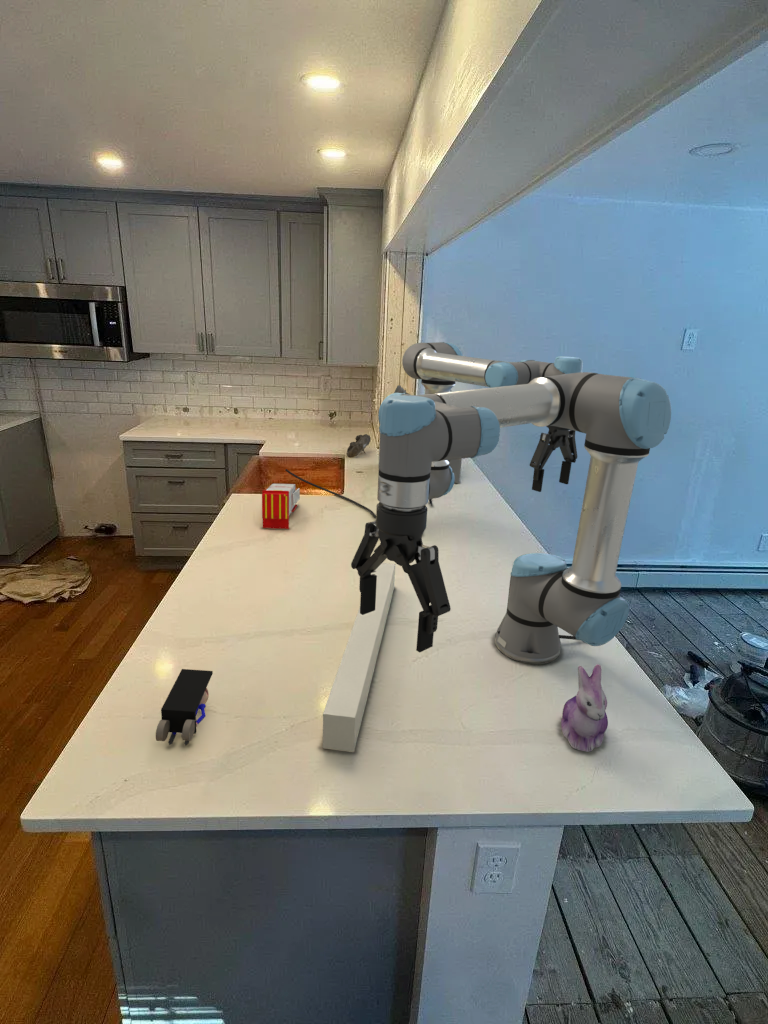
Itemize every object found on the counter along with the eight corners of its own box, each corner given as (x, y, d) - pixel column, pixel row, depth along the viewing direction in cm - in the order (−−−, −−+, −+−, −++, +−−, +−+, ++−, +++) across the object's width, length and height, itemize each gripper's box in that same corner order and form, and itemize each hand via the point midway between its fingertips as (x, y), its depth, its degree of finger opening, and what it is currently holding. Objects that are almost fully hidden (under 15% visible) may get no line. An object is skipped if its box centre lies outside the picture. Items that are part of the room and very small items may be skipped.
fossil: (346, 440, 316) (367, 425, 311) (357, 453, 319) (378, 438, 314) (340, 453, 296) (362, 438, 291) (351, 468, 299) (374, 452, 294)
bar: (374, 586, 162) (375, 562, 159) (394, 588, 161) (395, 563, 158) (322, 748, 102) (322, 713, 99) (354, 752, 101) (355, 717, 99)
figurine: (585, 761, 101) (600, 692, 96) (546, 725, 110) (557, 659, 104) (622, 745, 105) (638, 678, 100) (581, 712, 114) (594, 648, 109)
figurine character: (195, 758, 100) (216, 696, 113) (191, 727, 96) (213, 666, 110) (157, 758, 99) (182, 695, 113) (151, 726, 96) (178, 666, 110)
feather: (430, 489, 255) (432, 485, 254) (431, 507, 228) (434, 504, 228) (427, 487, 254) (429, 483, 254) (428, 505, 228) (430, 501, 227)
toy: (301, 479, 224) (291, 492, 194) (301, 512, 226) (291, 530, 197) (270, 478, 223) (256, 491, 194) (271, 511, 226) (256, 529, 197)
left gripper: (546, 420, 148) (535, 497, 155) (597, 412, 163) (585, 483, 170) (522, 415, 153) (513, 490, 160) (574, 408, 169) (563, 477, 176)
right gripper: (331, 486, 90) (329, 604, 97) (446, 535, 72) (433, 675, 79) (368, 479, 94) (363, 592, 102) (484, 523, 77) (469, 657, 84)
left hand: (550, 486), depth 165 cm, fingers open, 13 cm apart
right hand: (394, 629), depth 91 cm, fingers open, 13 cm apart
